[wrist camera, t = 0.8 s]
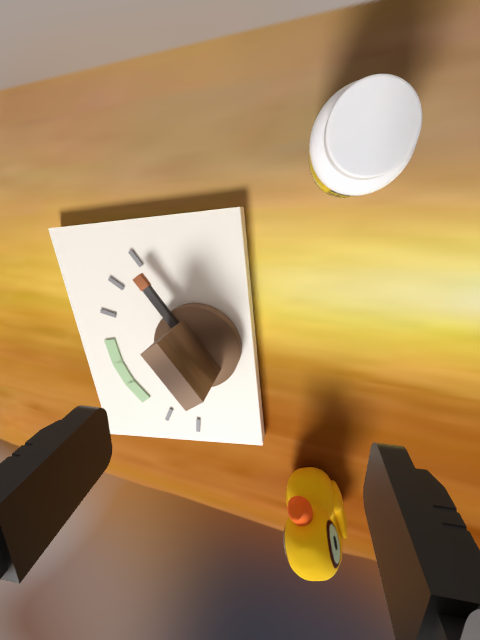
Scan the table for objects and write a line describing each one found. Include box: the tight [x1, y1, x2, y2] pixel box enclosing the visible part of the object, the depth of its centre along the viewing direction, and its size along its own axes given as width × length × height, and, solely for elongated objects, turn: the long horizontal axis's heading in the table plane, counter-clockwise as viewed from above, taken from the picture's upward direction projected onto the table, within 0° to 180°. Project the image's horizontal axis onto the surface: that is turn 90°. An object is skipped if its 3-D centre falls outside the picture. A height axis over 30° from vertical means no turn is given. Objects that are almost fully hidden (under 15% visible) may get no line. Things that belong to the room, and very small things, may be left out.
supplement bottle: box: [309, 74, 422, 198], centre depth 18 cm, size 5×5×10 cm
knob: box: [133, 273, 242, 411], centre depth 25 cm, size 12×8×6 cm, turn 36°
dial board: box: [48, 207, 265, 445], centre depth 30 cm, size 18×23×2 cm
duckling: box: [284, 467, 347, 581], centre depth 29 cm, size 11×5×10 cm, turn 21°
